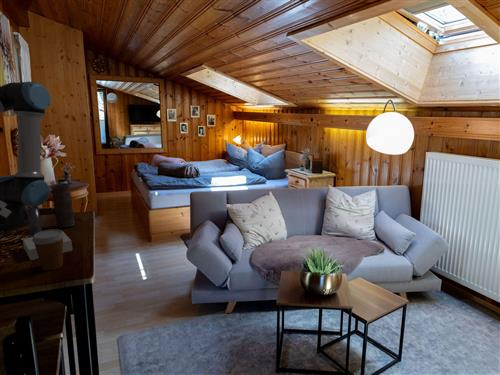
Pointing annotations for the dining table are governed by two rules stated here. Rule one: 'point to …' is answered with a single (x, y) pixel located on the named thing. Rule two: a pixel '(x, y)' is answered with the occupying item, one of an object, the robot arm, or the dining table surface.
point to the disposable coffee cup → (49, 248)
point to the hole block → (32, 251)
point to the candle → (63, 205)
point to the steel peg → (34, 220)
